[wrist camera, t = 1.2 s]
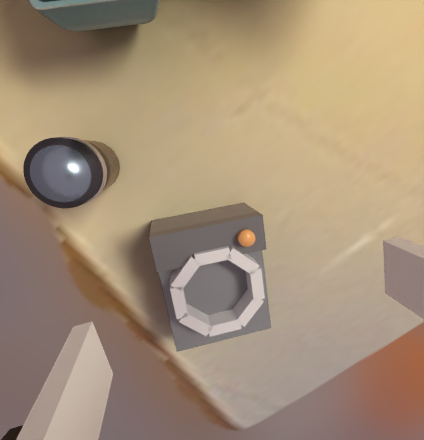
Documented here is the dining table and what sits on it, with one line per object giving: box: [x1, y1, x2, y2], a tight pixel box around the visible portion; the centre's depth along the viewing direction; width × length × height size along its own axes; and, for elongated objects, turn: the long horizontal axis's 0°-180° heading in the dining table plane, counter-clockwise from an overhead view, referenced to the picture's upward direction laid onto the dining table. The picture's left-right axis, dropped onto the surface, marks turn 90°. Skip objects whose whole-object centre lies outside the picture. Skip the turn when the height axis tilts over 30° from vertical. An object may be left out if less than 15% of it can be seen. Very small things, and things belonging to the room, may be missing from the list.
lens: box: [24, 137, 120, 208], centre depth 25 cm, size 5×5×10 cm
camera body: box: [149, 203, 271, 352], centre depth 31 cm, size 14×11×7 cm
